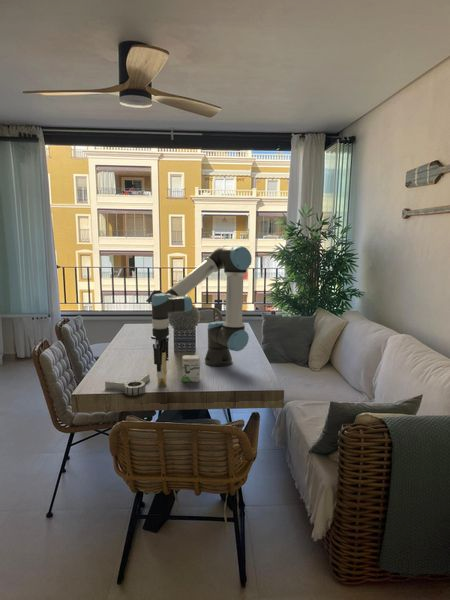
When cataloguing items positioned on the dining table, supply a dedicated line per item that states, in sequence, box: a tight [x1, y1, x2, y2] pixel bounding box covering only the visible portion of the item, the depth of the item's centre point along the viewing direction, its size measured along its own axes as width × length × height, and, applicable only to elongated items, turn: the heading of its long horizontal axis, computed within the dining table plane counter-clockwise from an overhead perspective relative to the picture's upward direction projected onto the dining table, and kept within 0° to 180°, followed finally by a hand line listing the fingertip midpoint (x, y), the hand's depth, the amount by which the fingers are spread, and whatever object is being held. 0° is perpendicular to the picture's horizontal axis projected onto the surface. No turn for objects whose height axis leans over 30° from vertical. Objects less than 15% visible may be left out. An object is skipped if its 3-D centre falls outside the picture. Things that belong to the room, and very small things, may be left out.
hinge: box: [104, 373, 151, 396], centre depth 182 cm, size 19×19×4 cm
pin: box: [157, 351, 167, 388], centre depth 183 cm, size 4×4×16 cm
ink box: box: [181, 354, 201, 383], centre depth 190 cm, size 9×5×12 cm, turn 94°
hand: (161, 375), depth 183 cm, fingers closed on pin, 4 cm apart
